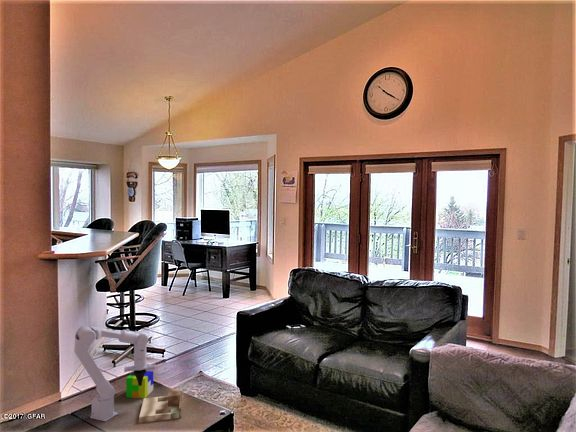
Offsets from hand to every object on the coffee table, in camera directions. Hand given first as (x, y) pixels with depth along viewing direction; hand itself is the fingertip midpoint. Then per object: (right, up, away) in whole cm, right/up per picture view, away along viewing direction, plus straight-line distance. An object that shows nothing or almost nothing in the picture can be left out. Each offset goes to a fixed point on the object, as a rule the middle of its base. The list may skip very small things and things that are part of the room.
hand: (140, 384), depth 198 cm
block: (+17, -8, -3) cm, 19 cm away
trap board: (+12, -11, -4) cm, 16 cm away
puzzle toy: (-5, -11, +14) cm, 18 cm away
